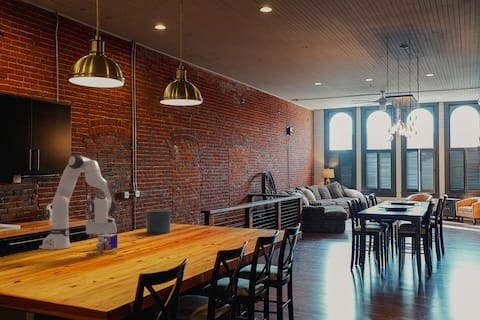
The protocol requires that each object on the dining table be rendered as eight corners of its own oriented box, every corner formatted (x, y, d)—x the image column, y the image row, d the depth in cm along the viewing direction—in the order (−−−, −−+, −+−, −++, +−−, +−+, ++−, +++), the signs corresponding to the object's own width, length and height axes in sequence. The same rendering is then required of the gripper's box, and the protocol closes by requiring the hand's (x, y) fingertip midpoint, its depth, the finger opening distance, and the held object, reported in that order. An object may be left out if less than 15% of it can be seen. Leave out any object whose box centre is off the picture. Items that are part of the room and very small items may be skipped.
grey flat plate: (85, 256, 296) (85, 256, 296) (87, 253, 308) (87, 252, 308) (116, 255, 300) (116, 254, 300) (117, 252, 312) (117, 251, 312)
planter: (147, 231, 415) (147, 209, 415) (171, 230, 417) (171, 209, 417) (144, 234, 393) (144, 211, 393) (170, 234, 395) (170, 211, 395)
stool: (101, 254, 301) (95, 245, 300) (102, 252, 308) (96, 243, 307) (110, 249, 302) (104, 240, 301) (111, 247, 309) (105, 238, 308)
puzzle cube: (111, 250, 319) (111, 236, 319) (98, 250, 321) (98, 236, 321) (117, 248, 329) (117, 234, 329) (105, 247, 331) (105, 234, 331)
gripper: (84, 220, 299) (84, 241, 299) (116, 220, 303) (116, 240, 303) (86, 219, 305) (86, 240, 305) (116, 218, 310) (116, 238, 309)
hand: (101, 240), depth 304 cm, fingers closed
